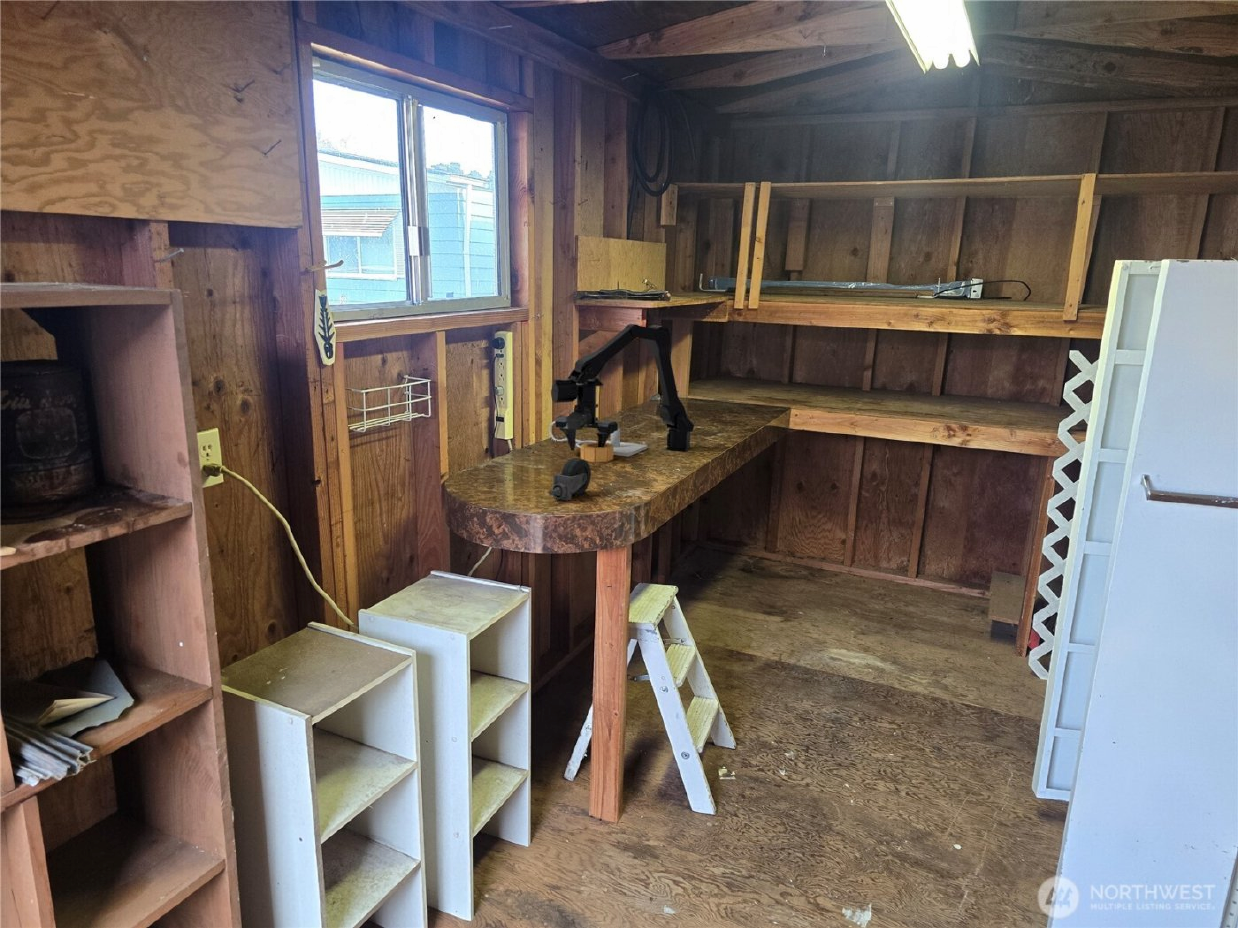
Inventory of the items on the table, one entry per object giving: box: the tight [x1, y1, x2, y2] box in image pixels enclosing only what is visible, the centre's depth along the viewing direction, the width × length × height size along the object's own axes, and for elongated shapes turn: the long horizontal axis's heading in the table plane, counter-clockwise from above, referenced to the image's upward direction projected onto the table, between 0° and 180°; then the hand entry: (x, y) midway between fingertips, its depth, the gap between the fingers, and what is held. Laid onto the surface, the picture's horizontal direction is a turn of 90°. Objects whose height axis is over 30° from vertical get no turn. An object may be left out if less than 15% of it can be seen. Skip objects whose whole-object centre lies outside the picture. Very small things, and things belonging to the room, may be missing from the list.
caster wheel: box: [548, 457, 592, 502], centre depth 189 cm, size 6×10×15 cm
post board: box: [606, 428, 648, 458], centre depth 243 cm, size 16×14×6 cm
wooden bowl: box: [580, 441, 614, 463], centre depth 231 cm, size 9×9×4 cm
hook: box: [548, 420, 597, 449], centre depth 252 cm, size 7×9×20 cm
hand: (586, 452), depth 233 cm, fingers open, 9 cm apart
